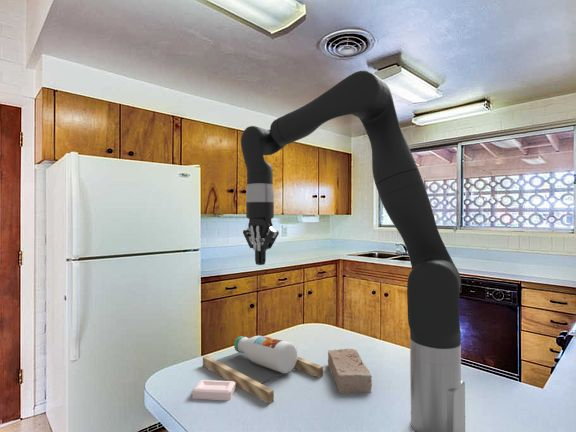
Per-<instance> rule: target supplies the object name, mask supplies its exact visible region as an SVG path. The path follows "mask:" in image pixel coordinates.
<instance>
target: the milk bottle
mask: <svg viewBox="0 0 576 432" xmlns="http://www.w3.org/2000/svg"><path fill="white" fill-rule="evenodd" d="M233 345H234V350H235V352H236V353H238V352H240V353H244V354H245V355H246V356H247V357H248V359H249V360H250V361H252V362H254V363H256V364H258V365H261V366H264V367H267V368H269V369H272V370H275V371H278V372H282V373H286V374H287V373H290V372H292V371H293V370H292V369H293V368H294V366H295V364H296V361H297V357H298V350H297V347H296V345H295V344H293V343H292V342H290V341H285V340H282V339H277V338H273V337H270V336H265V335H264V336H263V335H255V336H251V337H247V336H243V335H240V336H238V337H237V338H235V340H234V344H233ZM291 370H292V371H291Z"/></svg>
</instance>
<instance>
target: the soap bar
mask: <svg viewBox="0 0 576 432" xmlns="http://www.w3.org/2000/svg"><path fill="white" fill-rule="evenodd" d="M236 386H237V385H236V384H235V382H234V381H228V380H215V379H214V380H212V379H211V380H209V379H200V380H198V382H197V384H196V385H195V386H194V387H193V388H192V392H191V393H192V397H191V398H192V399H195V400H213V401H214V400H215V401H230V400H231V399H232V398H233V396H234V394H233V393H235V392H236V390H235V389H236ZM234 391H235V392H234ZM232 395H233V396H232Z"/></svg>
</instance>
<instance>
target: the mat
mask: <svg viewBox="0 0 576 432" xmlns="http://www.w3.org/2000/svg"><path fill="white" fill-rule="evenodd" d="M216 360H217V361H219V362H221V363H223V364H224V365H226V366H228V367H230V368H232V369H234V370H236V371H238V372H240V373H242V374H244V375H245V376H247V377H249V378H251V379H253V380H255V381H257V382H259V383H261V384H263V385H264V384H266V383H268V382H270V381H272V380H275V379H276V378H279V377H281V376H284V375H286V374H287V373H282V372H278V371H275V370H272V369H269V368H267V367H264V366H261V365H258V364H256V363H254V362H252V361H250V360H249V359H248V357H247V356H246V355H245V354H244V353H240V352H236V353H232V354H229V355H226V356H224V357H221V358H218V359H216ZM296 369H297V368H296V367H294V368H293V369H292V370H291V371H290V372H293V371H294V370H296Z"/></svg>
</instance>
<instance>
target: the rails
mask: <svg viewBox="0 0 576 432" xmlns="http://www.w3.org/2000/svg"><path fill="white" fill-rule="evenodd" d="M217 360H218V359H215V358H213V357H211V356H209V355H206V356H203V357H202V367H204V368H205V367H206V369H207V368H208V369H207V370H209V369H210V370H209V371H210V372H212V371H213V372H212V373H214V372H215V373H214V374H216V373H217V374H216V375H218V374H219V375H220V376H219V375H218V376H219V377H221V376H222V377H221V378H223V379H224V380H226V379H227V380H226V381H228V380H229V381H234V382H235V384H236V386H237V387H239V388H241V389H243V390H244V391H245V392H247V393H249V394H251V395H252V396H254V397H256V398H258V399H260V400H261V401H263V402H265V403H267V404H269V405H270V404H271V403H273V402H275V401H274V400H275V398H274V397H275V395H274V394H275V392H274V389H272V388H270V387H268V386H267V385H264V384H261V383H259V382H257V381H255V380H253V379H251V378H249V377H247V376H245V375H244V374H242V373H240V372H238V371H236V370H234V369H232V368H230V367H228V366H226V365H224V364H223V363H221V362H219V361H217ZM294 367H296V369H297V370H300V371H302V372H304V373H307V374H309V375H311V376H314V377H317V378H318V379H319V378H321V377H323V376H324V375H323V374H324V371H323V370H324V366H322V365H320V364H319V363H315V362H313V361H309V360H307V359H305V358H302V357H300V356H297V361H296V364H295V366H294Z"/></svg>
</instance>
